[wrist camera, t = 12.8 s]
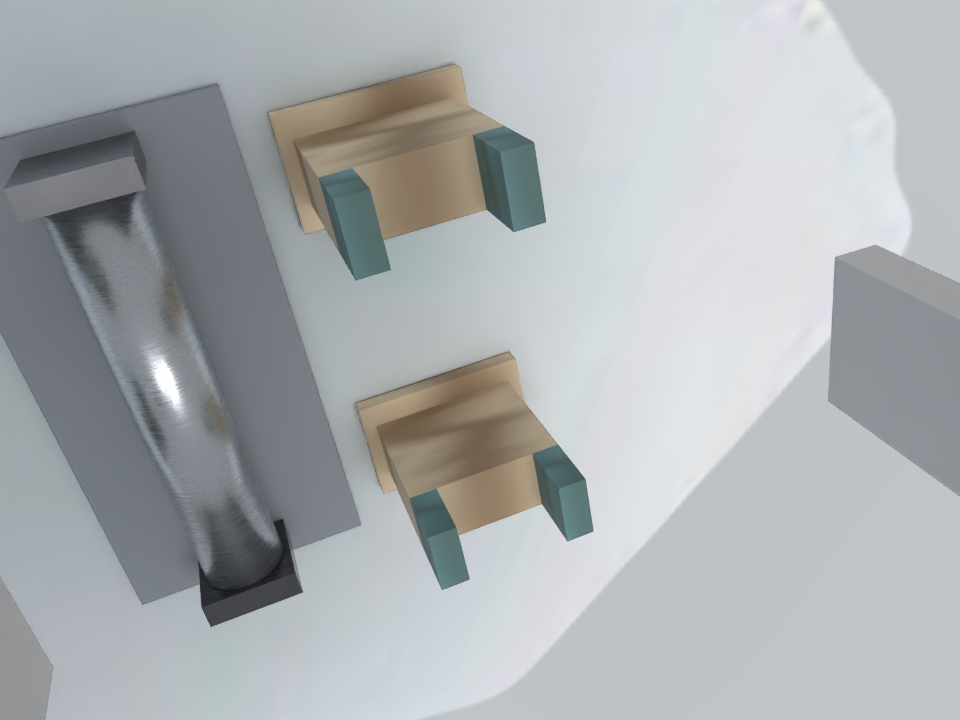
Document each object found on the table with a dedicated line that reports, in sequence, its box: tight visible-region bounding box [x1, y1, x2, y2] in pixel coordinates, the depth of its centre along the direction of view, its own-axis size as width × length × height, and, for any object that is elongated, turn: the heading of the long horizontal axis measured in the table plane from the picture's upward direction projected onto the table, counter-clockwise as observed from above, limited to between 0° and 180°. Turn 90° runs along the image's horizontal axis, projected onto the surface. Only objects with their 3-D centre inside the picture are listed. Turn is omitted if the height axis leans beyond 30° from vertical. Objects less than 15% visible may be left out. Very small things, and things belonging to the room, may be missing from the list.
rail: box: [4, 131, 303, 627], centre depth 36 cm, size 20×4×4 cm, turn 11°
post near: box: [268, 64, 546, 280], centre depth 32 cm, size 8×5×10 cm, turn 101°
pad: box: [0, 84, 361, 605], centre depth 38 cm, size 11×22×1 cm, turn 11°
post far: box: [355, 352, 593, 590], centre depth 39 cm, size 8×5×10 cm, turn 101°
